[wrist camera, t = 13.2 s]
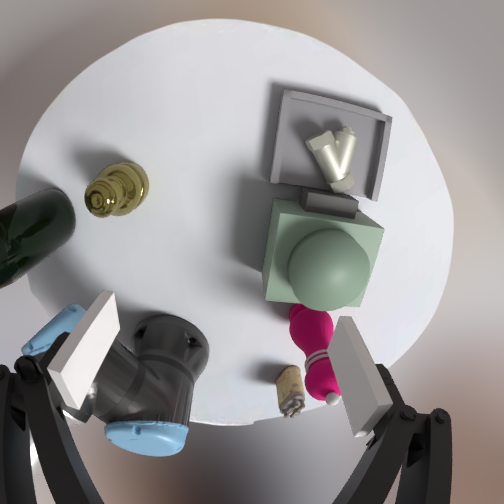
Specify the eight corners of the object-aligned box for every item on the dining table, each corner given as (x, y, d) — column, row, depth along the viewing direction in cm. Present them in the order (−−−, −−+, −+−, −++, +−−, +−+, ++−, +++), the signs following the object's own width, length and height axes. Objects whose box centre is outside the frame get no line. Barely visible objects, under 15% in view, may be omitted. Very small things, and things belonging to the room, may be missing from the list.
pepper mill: (279, 305, 46) (297, 400, 28) (319, 288, 45) (356, 378, 27) (294, 334, 49) (314, 424, 31) (331, 318, 48) (365, 405, 30)
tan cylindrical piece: (286, 387, 56) (292, 423, 46) (271, 383, 55) (275, 420, 46) (303, 367, 53) (311, 404, 44) (287, 363, 52) (293, 401, 43)
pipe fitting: (342, 121, 34) (302, 141, 35) (353, 119, 31) (310, 140, 31) (364, 170, 37) (327, 191, 38) (377, 173, 34) (337, 195, 34)
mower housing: (343, 280, 45) (366, 319, 35) (261, 272, 44) (266, 313, 34) (365, 196, 39) (400, 217, 29) (276, 181, 38) (287, 197, 28)
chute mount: (370, 197, 39) (377, 201, 37) (269, 180, 38) (270, 182, 36) (385, 117, 34) (392, 117, 32) (281, 91, 33) (284, 88, 31)
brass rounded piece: (108, 159, 36) (73, 168, 27) (152, 163, 37) (124, 172, 27) (106, 205, 39) (73, 225, 30) (148, 211, 39) (121, 233, 30)
